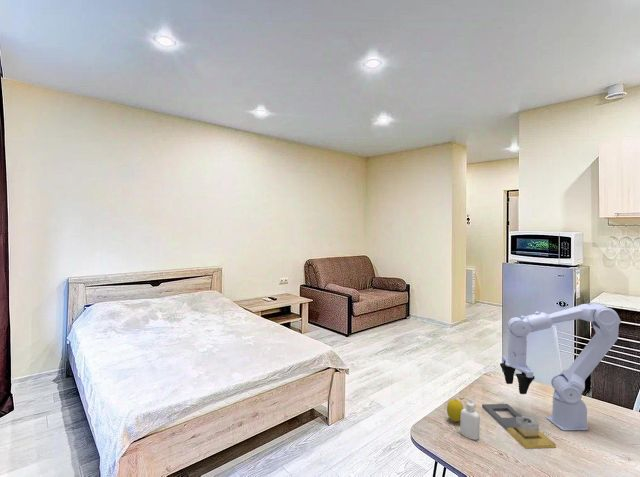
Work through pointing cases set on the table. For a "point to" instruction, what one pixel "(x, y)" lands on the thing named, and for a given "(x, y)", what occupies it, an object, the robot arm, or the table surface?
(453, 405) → the lemon
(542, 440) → the rail
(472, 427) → the eye dropper bottle
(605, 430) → the table surface
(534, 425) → the grey cube with hole
